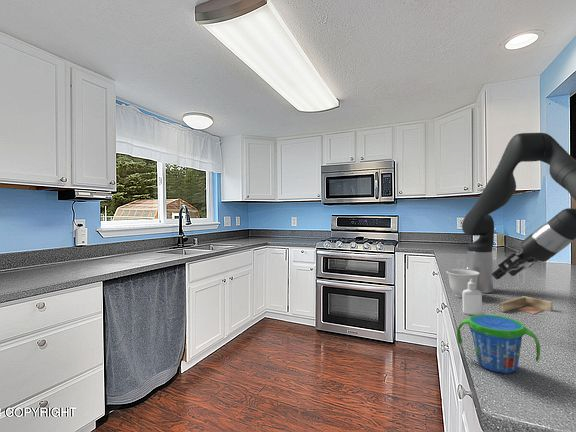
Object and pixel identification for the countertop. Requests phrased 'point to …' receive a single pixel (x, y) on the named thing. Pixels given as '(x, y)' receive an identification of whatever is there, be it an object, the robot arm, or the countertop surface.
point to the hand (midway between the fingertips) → (502, 275)
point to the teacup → (461, 280)
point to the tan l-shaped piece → (526, 302)
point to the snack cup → (497, 341)
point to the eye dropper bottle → (472, 300)
